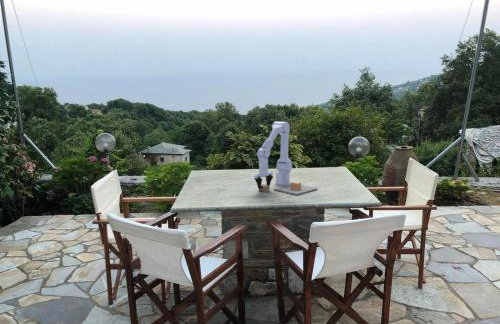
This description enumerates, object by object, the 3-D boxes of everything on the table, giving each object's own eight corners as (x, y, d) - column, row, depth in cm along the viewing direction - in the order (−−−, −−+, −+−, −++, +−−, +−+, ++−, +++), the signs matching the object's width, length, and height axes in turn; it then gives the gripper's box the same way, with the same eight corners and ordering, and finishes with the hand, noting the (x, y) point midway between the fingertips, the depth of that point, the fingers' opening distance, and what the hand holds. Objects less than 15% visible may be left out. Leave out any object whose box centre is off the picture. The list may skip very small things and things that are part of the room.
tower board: (273, 190, 258) (273, 188, 258) (294, 185, 271) (294, 183, 270) (296, 195, 243) (296, 193, 243) (317, 189, 256) (317, 188, 255)
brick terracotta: (290, 188, 257) (290, 182, 257) (294, 187, 260) (294, 181, 259) (297, 189, 253) (297, 183, 252) (301, 188, 256) (301, 182, 255)
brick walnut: (258, 191, 257) (258, 185, 257) (263, 189, 260) (263, 184, 259) (264, 192, 253) (264, 186, 252) (269, 191, 255) (269, 185, 255)
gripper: (259, 169, 246) (259, 190, 248) (276, 166, 255) (276, 186, 257) (252, 167, 251) (252, 188, 253) (268, 164, 260) (268, 184, 263)
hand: (263, 187), depth 256 cm, fingers open, 7 cm apart
